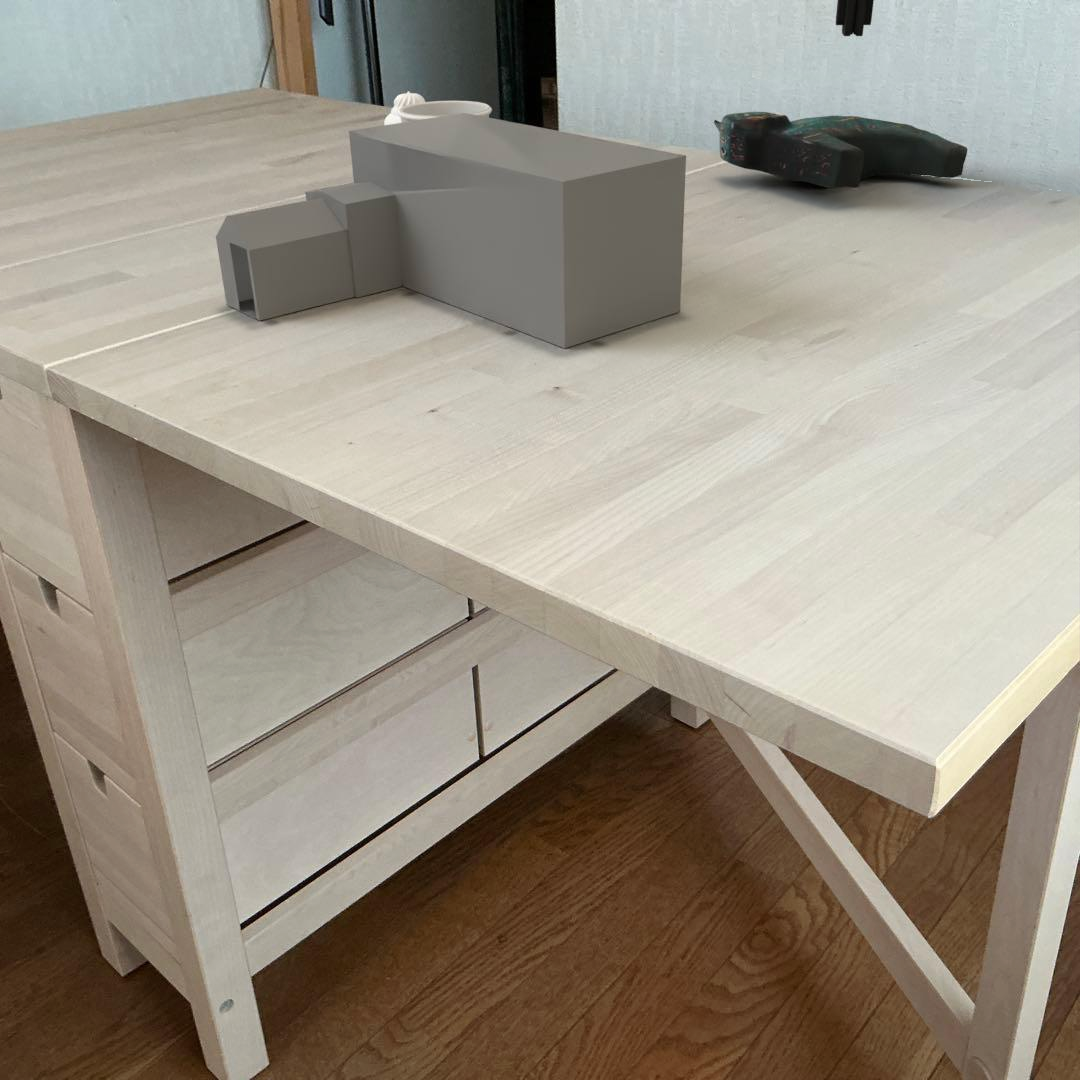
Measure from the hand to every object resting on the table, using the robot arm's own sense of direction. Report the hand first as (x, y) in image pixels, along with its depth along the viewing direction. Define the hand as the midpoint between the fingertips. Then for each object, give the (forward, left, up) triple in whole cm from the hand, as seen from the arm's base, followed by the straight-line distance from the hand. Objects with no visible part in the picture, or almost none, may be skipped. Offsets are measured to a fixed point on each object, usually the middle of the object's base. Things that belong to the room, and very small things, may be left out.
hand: (851, 34), depth 104 cm
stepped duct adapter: (+31, +35, -15) cm, 49 cm away
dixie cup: (+36, +10, -15) cm, 40 cm away
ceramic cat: (-6, -1, -12) cm, 13 cm away
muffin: (+47, -20, -15) cm, 53 cm away
